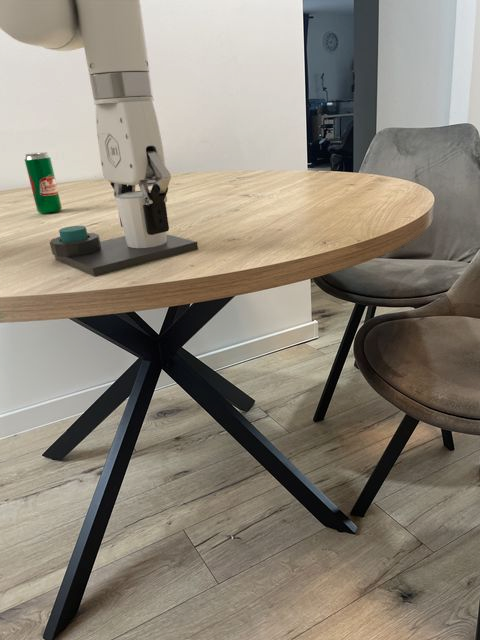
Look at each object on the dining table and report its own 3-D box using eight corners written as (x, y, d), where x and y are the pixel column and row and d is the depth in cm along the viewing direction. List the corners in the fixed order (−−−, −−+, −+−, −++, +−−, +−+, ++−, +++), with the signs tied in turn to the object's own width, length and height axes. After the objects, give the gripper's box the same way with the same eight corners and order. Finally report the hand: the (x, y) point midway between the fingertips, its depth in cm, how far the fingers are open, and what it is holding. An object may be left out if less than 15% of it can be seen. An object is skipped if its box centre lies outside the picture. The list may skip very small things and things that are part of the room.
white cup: (148, 235, 79) (141, 188, 76) (180, 240, 75) (174, 190, 72) (113, 246, 74) (103, 196, 71) (145, 251, 70) (137, 198, 67)
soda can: (47, 215, 108) (32, 154, 103) (32, 213, 110) (18, 154, 105) (67, 210, 112) (54, 151, 106) (52, 209, 114) (39, 151, 109)
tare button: (67, 245, 70) (64, 232, 69) (57, 241, 72) (54, 229, 72) (92, 240, 72) (90, 227, 71) (81, 236, 74) (79, 224, 74)
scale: (89, 278, 64) (83, 255, 63) (48, 260, 74) (43, 239, 72) (198, 249, 74) (195, 229, 73) (149, 236, 83) (146, 218, 82)
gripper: (67, 95, 69) (94, 227, 77) (128, 87, 57) (153, 243, 65) (117, 93, 74) (138, 218, 82) (184, 85, 62) (201, 232, 70)
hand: (144, 228), depth 73 cm, fingers closed on white cup, 6 cm apart
